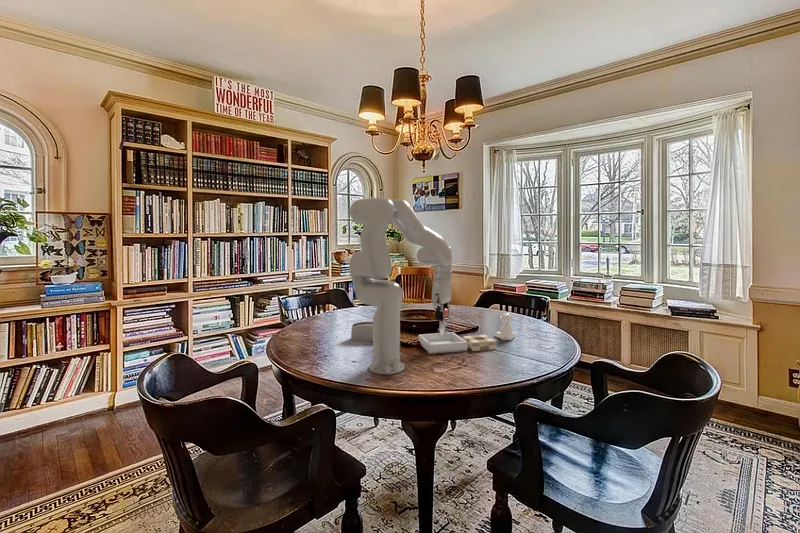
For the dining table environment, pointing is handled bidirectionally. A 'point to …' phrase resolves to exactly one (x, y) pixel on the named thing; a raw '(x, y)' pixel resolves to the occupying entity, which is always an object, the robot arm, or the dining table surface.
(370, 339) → the grey arched block
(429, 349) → the tray
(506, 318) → the white creature statuette
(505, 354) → the dining table surface
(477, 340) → the block
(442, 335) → the handwheel pin
